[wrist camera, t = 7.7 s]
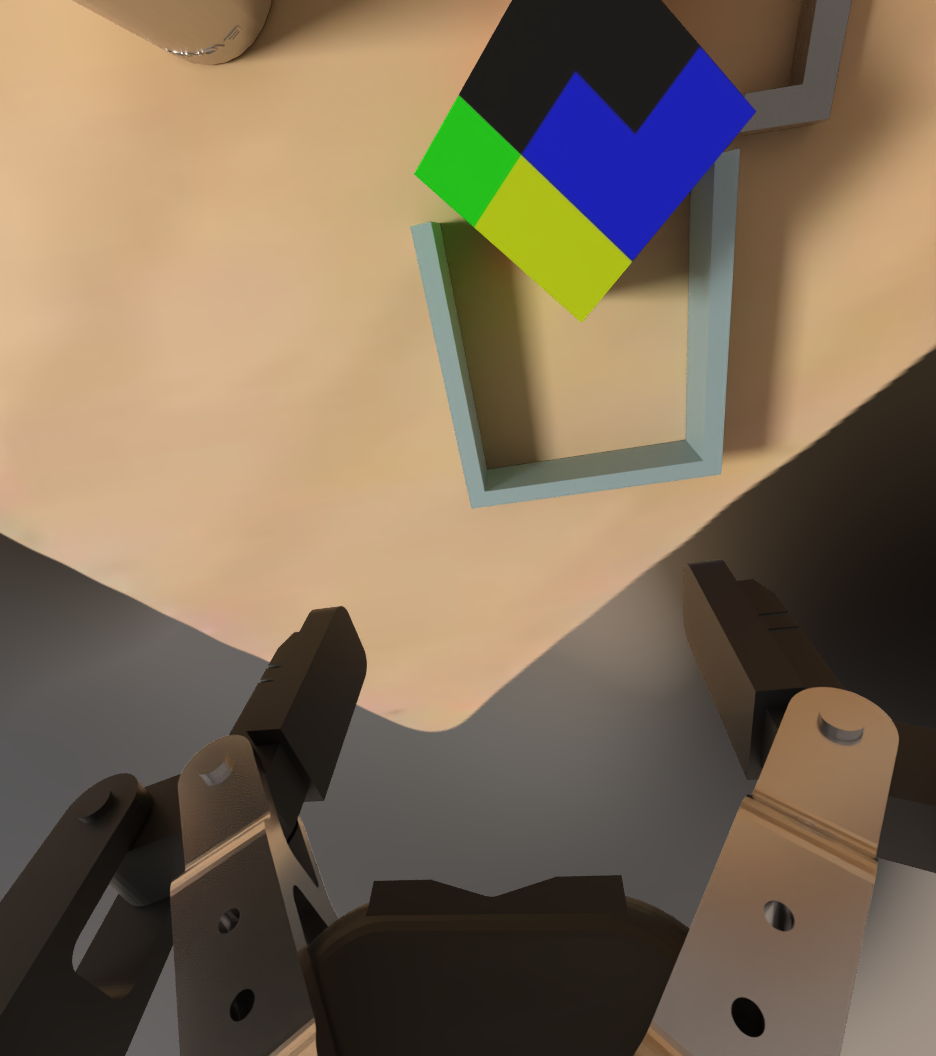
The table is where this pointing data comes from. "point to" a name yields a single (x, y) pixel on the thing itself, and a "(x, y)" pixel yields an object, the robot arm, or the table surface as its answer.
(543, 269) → the puzzle toy
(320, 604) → the table surface
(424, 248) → the grey-blue flat square frame
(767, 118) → the crook tool
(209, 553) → the table surface
